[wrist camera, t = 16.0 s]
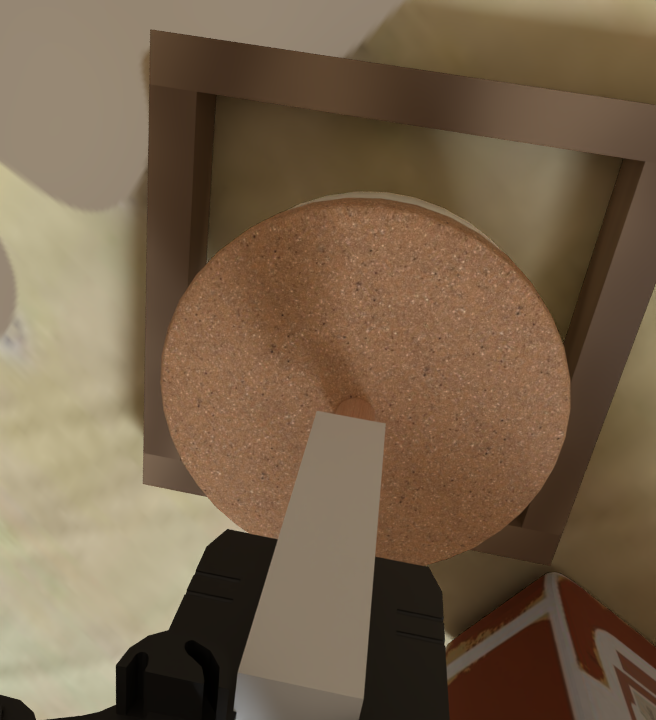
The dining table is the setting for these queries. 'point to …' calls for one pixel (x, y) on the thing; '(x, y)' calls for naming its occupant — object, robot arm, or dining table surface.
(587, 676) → the cine camera
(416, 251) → the lidded jar
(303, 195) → the dining table surface
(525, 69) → the dining table surface
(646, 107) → the brown wooden tray
